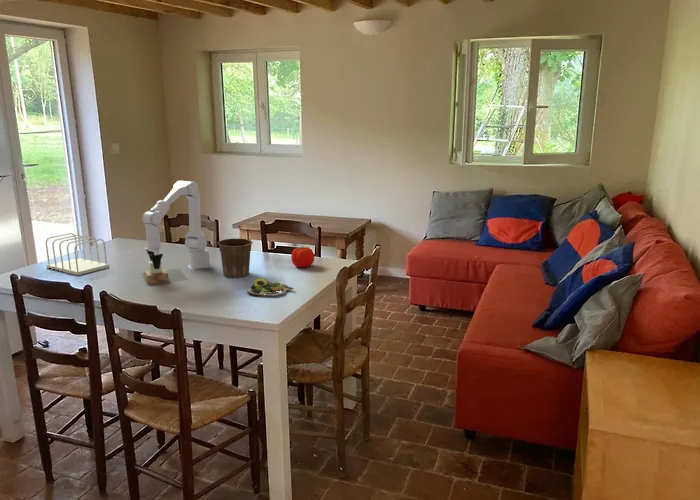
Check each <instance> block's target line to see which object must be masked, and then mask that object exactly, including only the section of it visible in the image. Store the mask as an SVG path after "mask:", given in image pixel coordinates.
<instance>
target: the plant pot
mask: <svg viewBox="0 0 700 500" xmlns="http://www.w3.org/2000/svg"><path fill="white" fill-rule="evenodd" d="M217 245H218V248H219V252H220V259H221V267H222V273H223V276H224V277H226V278H230V279H231V278H237V279H238V278H244V277H247V276H249V275H250V261H251V251H252V245H253V240H251V239H247V238H240V237H239V238H237V237H236V238H225V239H222V240H221V239H220V240H219V241H218V242H217Z"/></svg>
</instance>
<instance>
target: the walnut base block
mask: <svg viewBox="0 0 700 500" xmlns="http://www.w3.org/2000/svg"><path fill="white" fill-rule="evenodd" d="M166 270H167V269H165V268H163V267H162V273H155V274H150V272H149V269H147V270H143V271H144V272H143V273H145V280H146V282H147V283H148V284H149V285H154V284H153V283H157V284H162V283H161V282H164V283H170V282H169V281H168V273H167V271H166ZM145 280H144V281H145ZM146 282H145V283H146Z"/></svg>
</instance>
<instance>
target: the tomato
mask: <svg viewBox="0 0 700 500" xmlns="http://www.w3.org/2000/svg"><path fill="white" fill-rule="evenodd" d="M304 246H305V245H302V246H300V247H296V248H295V249H293V250H292V253H291V256H290V257H291V262H292V264H293V265H294V266H295V267H296V268H297V267H298V268H308V267H310V266H311V265H313V263H314V262H315V253H314V250H313V249H311V248H310V247H309V246H307V247H304Z"/></svg>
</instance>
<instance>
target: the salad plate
mask: <svg viewBox="0 0 700 500" xmlns="http://www.w3.org/2000/svg"><path fill="white" fill-rule="evenodd" d="M294 289H295V288H294V287H291V286H289V285H288V284H286V283H282V282H277V281H275V282H270V281H269V280H268V279H267V278H264V277H258V278H256V279H254V280H253V282H252V285H251V286H250V287H249V288H248V289H247V290H246V291H247V292H246V293H247V294H248V295H250V296H252V295H253V296H252V297H260V296H275V297H278V296H277V295H281V296H283V295H285V294H286V293H285V292H286V291H287V290H288V291H290V290H294ZM280 290H281V291H282V293H269V292H276V291H280ZM288 291H287V292H288ZM267 293H269V294H267ZM284 293H285V294H284ZM264 294H266V295H264ZM282 294H283V295H282Z"/></svg>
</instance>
